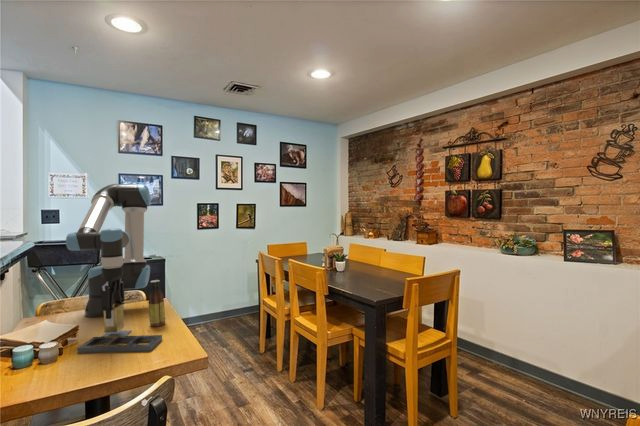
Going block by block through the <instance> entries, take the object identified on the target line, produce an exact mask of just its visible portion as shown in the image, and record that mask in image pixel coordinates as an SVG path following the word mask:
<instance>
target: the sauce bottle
mask: <svg viewBox="0 0 640 426" xmlns="http://www.w3.org/2000/svg"><path fill="white" fill-rule="evenodd" d="M149 285H150V293H149V295H148V314H149V315H148V316H149V317H148V318H149V324H150V326H151V327H154V328H156V327H161V326H163V325H165V323H166V312H165V298H164V293H163V291H162V290H161V280H159V279H153V280H150V282H149Z"/></svg>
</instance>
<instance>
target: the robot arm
mask: <svg viewBox="0 0 640 426" xmlns="http://www.w3.org/2000/svg"><path fill="white" fill-rule="evenodd" d="M148 187H149V186H147V184H140V183H112V184H108V185H106V186H104V187H102V188H100V189H99V190H98V191H97V192H96V193H94V195H93V197H92V198H91V200H90V202H91V204H90V205H91V206H90V207H89V209H88V211H87V213H86V214H85V217H84V219H83V221H82V223H81V224H80V226H79V228H78V230H77V231H76V232H70V233H68V234H67V235H66V238H65V246H66V248H67V249H68V251H76V252H77V251H78V252H81V251H96V250H97V251H98V250H100V261H101V265H97V266H94V267H92V268H90V269H89V270H88V272H87V274H88V275H87V276H88V277H87V281H88V282H87V284H88V288H87V289H88V300H87V303H86V305H85V308H84V316H85V317H88V318H99V317H104V311H106V326H114V310H112V307H113V304H123V305H125V290H138V289H144V288H146V287H147V286H148V283H149V280H150V275H151V266H150V265H149V264H147V260H146V259H145V258H144V246H145V245H144V242H145V241H144V239H145V235H144V234H145V212H146V211H148V207H151V205H152V201H151V199H152V198H151V194H150V190H149V188H148ZM114 207H121V210H122V211H123V212H124V230H122V229H121V228H119V227H118V228H117V227H115V228H114V227H113V228H112V227H111V228H103V224H104V223H105V221H106V218H107V215H108V214H109V211H111V210H112V209H113V208H114ZM102 228H103V229H102ZM123 248H124V249H123Z"/></svg>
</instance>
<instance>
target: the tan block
mask: <svg viewBox="0 0 640 426" xmlns="http://www.w3.org/2000/svg"><path fill="white" fill-rule="evenodd" d="M112 310H114V326H106V311H104V316H103V328H104V329H103V330H104V331H103V333H104V334H106V333H107V332H118V331H122V330H123V328H125V325H124V323H125V322H124V321H125V320H124V304H113V307H112Z"/></svg>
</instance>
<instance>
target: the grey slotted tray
mask: <svg viewBox="0 0 640 426" xmlns="http://www.w3.org/2000/svg"><path fill="white" fill-rule="evenodd" d="M162 341H163V335H162V334H155V335H152V334H151V335H149V334H148V335H127V336H107V337H101V336H93V337H92V338H90V339H88V340H87V341H85V342H84V343H82V344H81V345H80V346H77V349H76V351H77V352H76V353H77V354H101V353H102V354H103V353H104V354H106V353H108V354H109V353H137V352H139V353H141V352H147V353H148V352H152V351H153V350H155V348H156V347H157V346H158V345H159V344H160V343H161V342H162ZM139 343H140V344H139ZM141 343H142V344H141ZM144 343H145V344H144ZM97 344H100V345H97ZM102 344H104V345H102Z"/></svg>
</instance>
